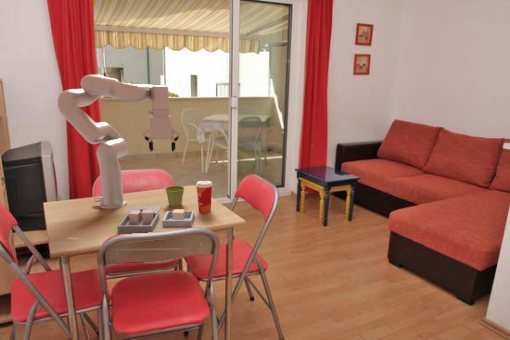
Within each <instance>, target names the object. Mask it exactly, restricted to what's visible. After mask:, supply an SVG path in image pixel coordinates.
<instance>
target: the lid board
mask: <svg viewBox="0 0 510 340" xmlns="http://www.w3.org/2000/svg"><path fill="white" fill-rule="evenodd" d="M161 208H162V206H161V205H159V206H158V205H157V206H156V205H155V206H152V205H151V206H147V205H146V206H145V205H144V206H140V205H139V206H138V205H137V206H135V205H134V206H131V208H130V209H129V210H128V212H127V213H126V214H125V215H124V217H125V216H126V215H127V214H128V213H130V212H131V211H141V213H142V211H143V210H148V209H154V213H160V212H159V211H160V209H161Z"/></svg>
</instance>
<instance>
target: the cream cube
mask: <svg viewBox="0 0 510 340" xmlns="http://www.w3.org/2000/svg"><path fill="white" fill-rule="evenodd" d="M172 211H173V220H185V211H186V209H185V208H184V209H183V208H182V209H178V208H177V209H175V208H174V209H173V210H172Z"/></svg>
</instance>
